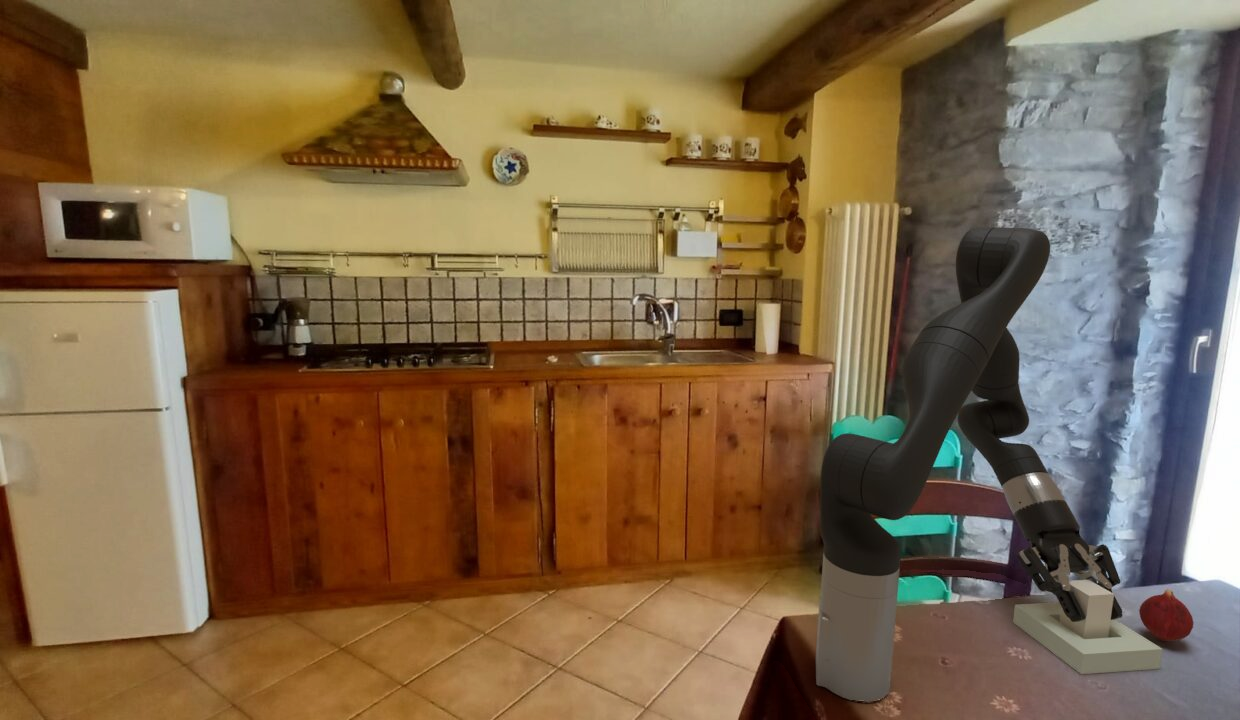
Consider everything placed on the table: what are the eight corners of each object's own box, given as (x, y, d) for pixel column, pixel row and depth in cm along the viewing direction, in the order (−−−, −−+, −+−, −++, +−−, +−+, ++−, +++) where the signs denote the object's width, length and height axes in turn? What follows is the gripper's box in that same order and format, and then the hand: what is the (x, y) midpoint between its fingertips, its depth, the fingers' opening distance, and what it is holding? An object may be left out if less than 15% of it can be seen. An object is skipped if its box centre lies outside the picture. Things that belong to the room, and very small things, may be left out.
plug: (1081, 653, 83) (1089, 595, 82) (1057, 636, 87) (1064, 581, 86) (1106, 651, 84) (1114, 594, 82) (1081, 634, 88) (1088, 579, 86)
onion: (1200, 655, 83) (1208, 604, 82) (1153, 650, 84) (1161, 599, 83) (1170, 631, 89) (1178, 583, 87) (1127, 626, 90) (1134, 578, 89)
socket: (1081, 674, 79) (1083, 654, 78) (1013, 622, 91) (1014, 604, 90) (1159, 668, 80) (1162, 648, 80) (1082, 618, 92) (1084, 600, 91)
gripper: (1012, 499, 89) (1070, 616, 79) (1096, 496, 91) (1164, 610, 80) (983, 517, 95) (1034, 628, 85) (1063, 514, 97) (1122, 623, 86)
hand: (1097, 619), depth 83 cm, fingers open, 5 cm apart
